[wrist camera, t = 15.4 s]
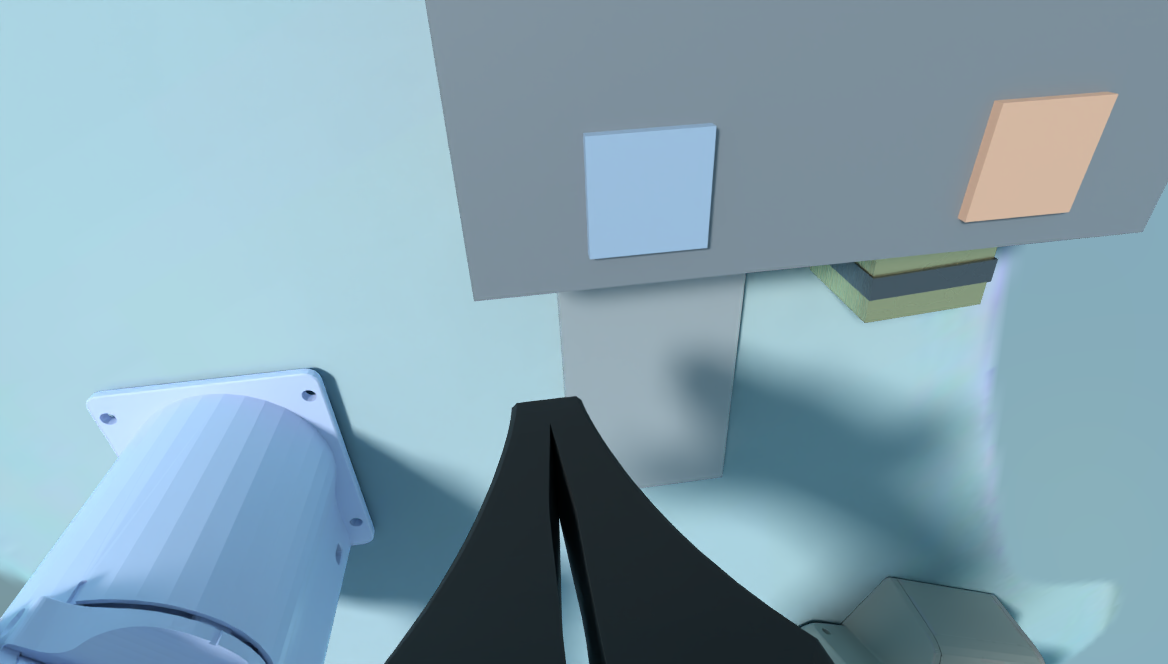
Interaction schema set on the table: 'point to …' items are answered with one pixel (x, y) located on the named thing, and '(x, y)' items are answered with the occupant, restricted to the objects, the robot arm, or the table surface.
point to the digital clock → (926, 628)
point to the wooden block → (910, 283)
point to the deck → (656, 371)
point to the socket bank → (790, 131)
